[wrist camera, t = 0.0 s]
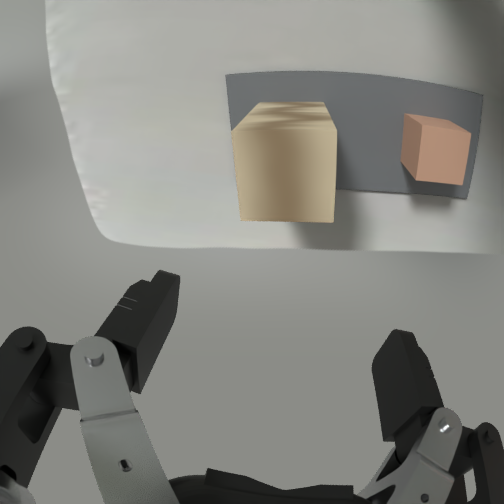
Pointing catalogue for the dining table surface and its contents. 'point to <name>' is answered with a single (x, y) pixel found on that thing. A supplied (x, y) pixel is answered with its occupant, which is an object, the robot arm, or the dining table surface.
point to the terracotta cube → (434, 149)
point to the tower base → (289, 107)
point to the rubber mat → (366, 121)
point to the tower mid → (286, 166)
